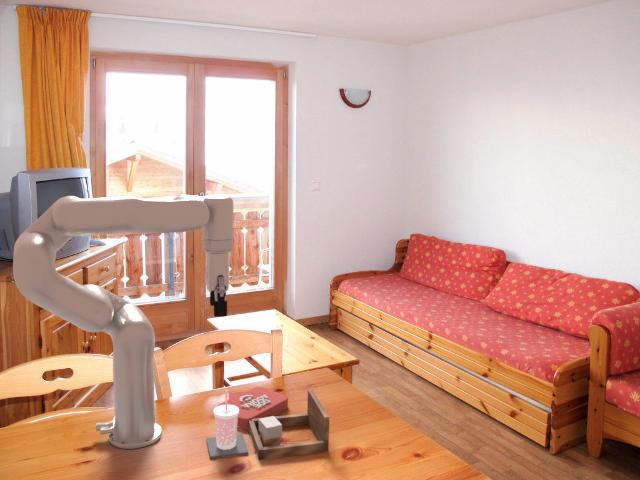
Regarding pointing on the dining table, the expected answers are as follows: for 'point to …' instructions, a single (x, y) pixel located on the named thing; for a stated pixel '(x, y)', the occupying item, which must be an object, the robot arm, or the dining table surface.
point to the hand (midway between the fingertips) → (218, 310)
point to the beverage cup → (226, 425)
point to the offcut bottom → (269, 441)
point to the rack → (313, 417)
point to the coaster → (218, 453)
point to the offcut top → (270, 427)
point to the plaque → (256, 404)
